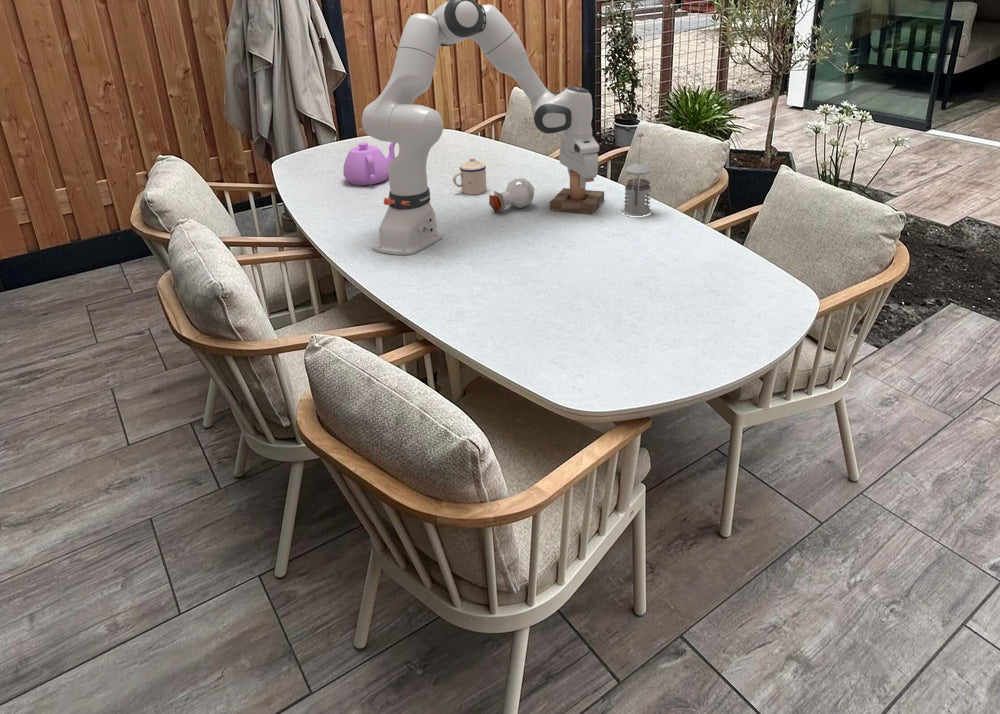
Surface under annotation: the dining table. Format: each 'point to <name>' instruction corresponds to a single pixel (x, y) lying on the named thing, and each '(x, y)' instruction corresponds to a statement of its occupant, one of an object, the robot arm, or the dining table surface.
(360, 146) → the teapot
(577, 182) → the copper mug
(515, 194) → the potion bottle
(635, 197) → the french press
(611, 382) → the dining table surface
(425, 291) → the dining table surface
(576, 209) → the holder
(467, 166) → the teacup with lid
